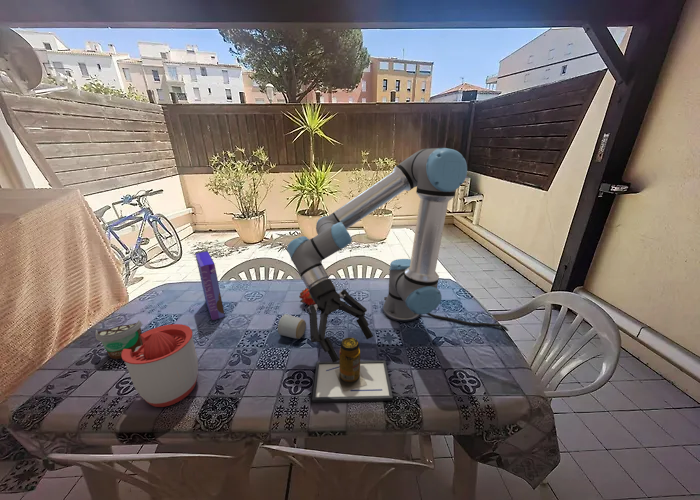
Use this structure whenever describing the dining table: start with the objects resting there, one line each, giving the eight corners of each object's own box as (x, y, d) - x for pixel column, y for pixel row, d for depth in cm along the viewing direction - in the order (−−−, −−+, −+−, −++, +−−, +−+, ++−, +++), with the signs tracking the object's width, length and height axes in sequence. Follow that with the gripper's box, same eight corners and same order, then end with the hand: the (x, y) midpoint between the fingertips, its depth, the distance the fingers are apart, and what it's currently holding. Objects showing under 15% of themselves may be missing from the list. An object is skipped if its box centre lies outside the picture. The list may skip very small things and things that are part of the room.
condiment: (356, 364, 85) (356, 333, 81) (367, 385, 78) (367, 351, 74) (334, 370, 83) (333, 338, 79) (343, 392, 76) (342, 358, 72)
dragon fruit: (298, 306, 121) (324, 309, 122) (296, 305, 113) (325, 308, 114) (300, 287, 124) (327, 290, 125) (299, 285, 115) (327, 288, 116)
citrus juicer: (159, 368, 85) (142, 314, 78) (214, 369, 84) (201, 315, 77) (118, 414, 70) (92, 352, 63) (183, 416, 70) (164, 353, 63)
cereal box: (224, 317, 111) (214, 263, 103) (212, 320, 109) (200, 266, 100) (217, 298, 125) (207, 250, 116) (205, 302, 122) (194, 252, 114)
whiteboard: (385, 362, 87) (385, 360, 87) (392, 400, 74) (392, 397, 74) (316, 364, 87) (316, 361, 86) (312, 402, 73) (311, 399, 73)
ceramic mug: (298, 343, 96) (296, 325, 93) (277, 339, 98) (276, 321, 95) (311, 326, 105) (310, 309, 102) (292, 322, 107) (291, 305, 105)
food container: (98, 366, 86) (87, 341, 82) (104, 354, 91) (94, 329, 87) (145, 354, 91) (137, 329, 88) (148, 343, 96) (140, 319, 93)
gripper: (343, 276, 92) (375, 332, 88) (278, 304, 76) (313, 375, 71) (354, 266, 87) (389, 326, 82) (287, 294, 71) (325, 370, 66)
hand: (354, 349), depth 77 cm, fingers open, 13 cm apart
